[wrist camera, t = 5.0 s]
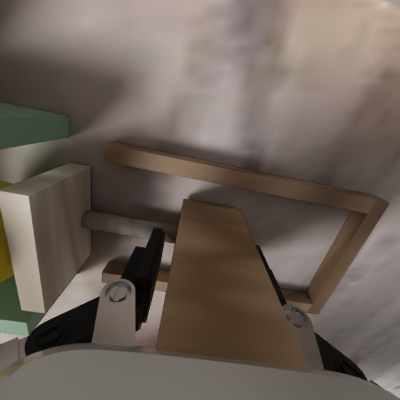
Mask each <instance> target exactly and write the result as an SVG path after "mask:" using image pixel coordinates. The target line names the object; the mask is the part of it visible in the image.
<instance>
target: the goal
mask: <svg viewBox="0 0 400 400" xmlns="http://www.w3.org/2000/svg"><path fill="white" fill-rule="evenodd" d="M67 137H70V134H69V116H65V115H60V114H55V113H51V112H46V111H41V110H37V109H32V108H27V107H23V106H18V105H14V104H9V103H4V102H0V149H5V148H11V147H17V146H22V145H28V144H34V143H39V142H45V141H50V140H56V139H62V138H67ZM75 275H76V274H75ZM75 275H74V276H73V278H74V277H75ZM73 278H72V279H73ZM72 279H71V280H72ZM71 280H70V282H71ZM70 282H69V283H70ZM69 283H68V284H69ZM68 284H67V285H66V287H67V286H68ZM66 287H65V288H66ZM65 288H64V289H63V291H64V290H65ZM63 291H62V292H63ZM62 292H61V293H60V295H61V294H62ZM60 295H59V296H60ZM59 296H58V297H59ZM58 297H57V298H56V300H57V299H58ZM56 300H55V301H56ZM55 301H54V302H53V304H54V303H55ZM53 304H52V305H53ZM52 305H51V306H50V307H49V309H50V308H51V307H52ZM49 309H48V310H47V311H46V313H47V312H48V311H49ZM46 313H39V312H32V311H24V310H21V305H20V300H19V295H18V290H17V285H16V281H15V276H14V274H13V275H12V276H10V277H9V278H7V279H5V280H4V281H2V282H0V333H8V334H17V335H25V336H29V335H30V334H31V332H32V331H33V330H34V329H35V328H36V326H37V325H38V324H39V322H40V321H41V320H42V318H43V317H44V316H45V314H46Z"/></svg>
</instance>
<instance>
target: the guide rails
mask: <svg viewBox="0 0 400 400" xmlns="http://www.w3.org/2000/svg"><path fill="white" fill-rule="evenodd" d="M104 161H106V162H111V163H116V164H121V165H126V166H131V167H136V168H141V169H146V170H151V171H156V172H161V173H166V174H171V175H176V176H181V177H187V178H192V179H197V180H202V181H207V182H212V183H217V184H222V185H227V186H232V187H237V188H242V189H247V190H252V191H257V192H262V193H267V194H272V195H277V196H282V197H287V198H292V199H297V200H302V201H307V202H312V203H317V204H322V205H327V206H332V207H337V208H342V209H347V210H352V211H351V213H350V215H349V217H348V218H347V220H346V222H345V224H344V225H343V227H342V229H341V231H340V232H339V234H338V236H337V238H336V239H335V241H334V243H333V245H332V246H331V248H330V250H329V252H328V253H327V255H326V257H325V259H324V260H323V262H322V264H321V266H320V267H319V269H318V271H317V273H316V274H315V276H314V278H313V280H312V281H311V283H310V285H309V287H308V288H307V290H306V292H298V291H292V290H285V289H280V290H281V292H282V294H283V296H284V298H285V300H286V303H287V304H291V305H295V306H297V307H299V308H300V309H301V310H303V311H304V312H305V313H312V314H319V312H320V311H321V309H322V308H323V306H324V305H325V303H326V302H327V300H328V298H329V297H330V295H331V294H332V292H333V291H334V289H335V288H336V286H337V284H338V283H339V281H340V280H341V278H342V277H343V275H344V274H345V272H346V271H347V269H348V267H349V266H350V264H351V263H352V261H353V260H354V258H355V257H356V255H357V253H358V252H359V250H360V249H361V247H362V246H363V244H364V243H365V241H366V239H367V238H368V236H369V235H370V233H371V232H372V230H373V229H374V227H375V225H376V224H377V222H378V221H379V219H380V218H381V216H382V215H383V213H384V212H385V210H386V208H387V207H388V205H389V204H390V203H389V202H387V201H385V200H383V199H381V198H378V197H376V196H373V195H368V194H364V193H359V192H354V191H349V190H344V189H340V188H335V187H330V186H325V185H320V184H316V183H311V182H306V181H301V180H297V179H292V178H287V177H282V176H277V175H273V174H268V173H263V172H258V171H253V170H249V169H244V168H239V167H234V166H230V165H225V164H220V163H215V162H210V161H206V160H201V159H196V158H191V157H186V156H182V155H177V154H172V153H167V152H162V151H158V150H153V149H148V148H143V147H139V146H134V145H129V144H124V143H119V142H115V141H112V142H108V143H105V144H104ZM126 266H127V265H126V264H120V263H114V262H108V263H107V265H106V267H105V268H104V270H103V272H102V283H108V282H110V281H113V280H116V279H120V278H121V276H122V274H123V272H124V270H125V268H126ZM169 273H170V271H164V270H159V274H158V277H157V281H156V285H155V289H154V290H156V291H163V292H166V289H167V284H168V278H169Z"/></svg>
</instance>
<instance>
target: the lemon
mask: <svg viewBox="0 0 400 400" xmlns="http://www.w3.org/2000/svg"><path fill="white" fill-rule="evenodd" d="M10 185H12V184H11V183H8V182H4V181H0V189H2V188H4V187H7V186H10ZM13 274H14V271H13V266H12V261H11V256H10V252H9V247H8V242H7V237H6V232H5V227H4V223H3V218H2V213H1V208H0V282H2V281H4V280H5V279H7V278H9V277H10V276H12V275H13Z"/></svg>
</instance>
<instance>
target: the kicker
mask: <svg viewBox="0 0 400 400" xmlns="http://www.w3.org/2000/svg"><path fill="white" fill-rule="evenodd" d="M0 208H1V213H2V218H3V223H4V227H5V232H6V237H7V242H8V247H9V252H10V256H11V261H12V266H13V271H14V276H15V281H16V285H17V290H18V295H19V300H20V305H21V310H24V311H32V312H39V313H46V311H47V310H48V309H49V307H50V306H51V305H52V304H53V302H54V301H55V300H56V298H57V297H58V296H59V295H60V293H61V292H62V291H63V289H64V288H65V287H66V285H67V284H68V283H69V282H70V280H71V279H72V278H73V276H74V275H75V274H76V273H77V271H78V270H79V269H80V267H81V266H82V265H83V263H84V262H85V261H86V260H87V258H88V257H89V256H90V254H91V229H92V230H98V231H104V232H110V233H116V234H122V235H127V236H133V237H139V238H145V239H149V238H150V236H151V233H152V231H153V228H154V227H156V228H162V229H163V231H165V232H166V234H165V240H164V242H169V243H175V246H174V251H173V257H172V262H171V267H170V273H169V278H168V284H167V289H166V295H165V300H164V305H163V311H162V316H161V322H160V327H159V332H158V338H157V343H156V349H157V350H162V351H170V352H179V353H188V354H196V355H204V356H212V357H221V358H229V359H237V360H245V361H253V362H261V363H269V364H277V365H285V366H292V367H300V368H308V366H307V363H306V361H305V359H304V356H303V354H302V352H301V349H300V347H299V345H298V342H297V340H296V338H295V336H294V333H293V331H292V329H291V326H290V324H289V322H288V319H287V317H286V315H285V312H284V310H283V308H282V305H281V303H280V301H279V299H278V296H277V294H276V292H275V289H274V287H273V285H272V282H271V280H270V278H269V275H268V273H267V271H266V268H265V266H264V264H263V261H262V259H261V257H260V255H259V252H258V250H257V248H256V245H255V243H254V241H253V238H252V236H251V234H250V231H249V229H248V227H247V224H246V222H245V220H244V217H243V215H242V213H241V211H240V209H235V208H230V207H225V206H219V205H214V204H209V203H203V202H198V201H193V200H188V199H184V200H183V205H182V210H181V215H180V220H179V226H173V225H168V224H162V223H157V222H151V221H145V220H140V219H134V218H128V217H123V216H117V215H111V214H106V213H100V212H95V211H91V190H90V166H86V165H81V164H76V163H68V164H65V165H63V166H60V167H57V168H55V169H52V170H50V171H47V172H44V173H42V174H39V175H36V176H34V177H31V178H28V179H26V180H23V181H20V182H18V183H15V184H12V185H10V186H7V187H4V188H2V189H0ZM308 369H309V368H308Z"/></svg>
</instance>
